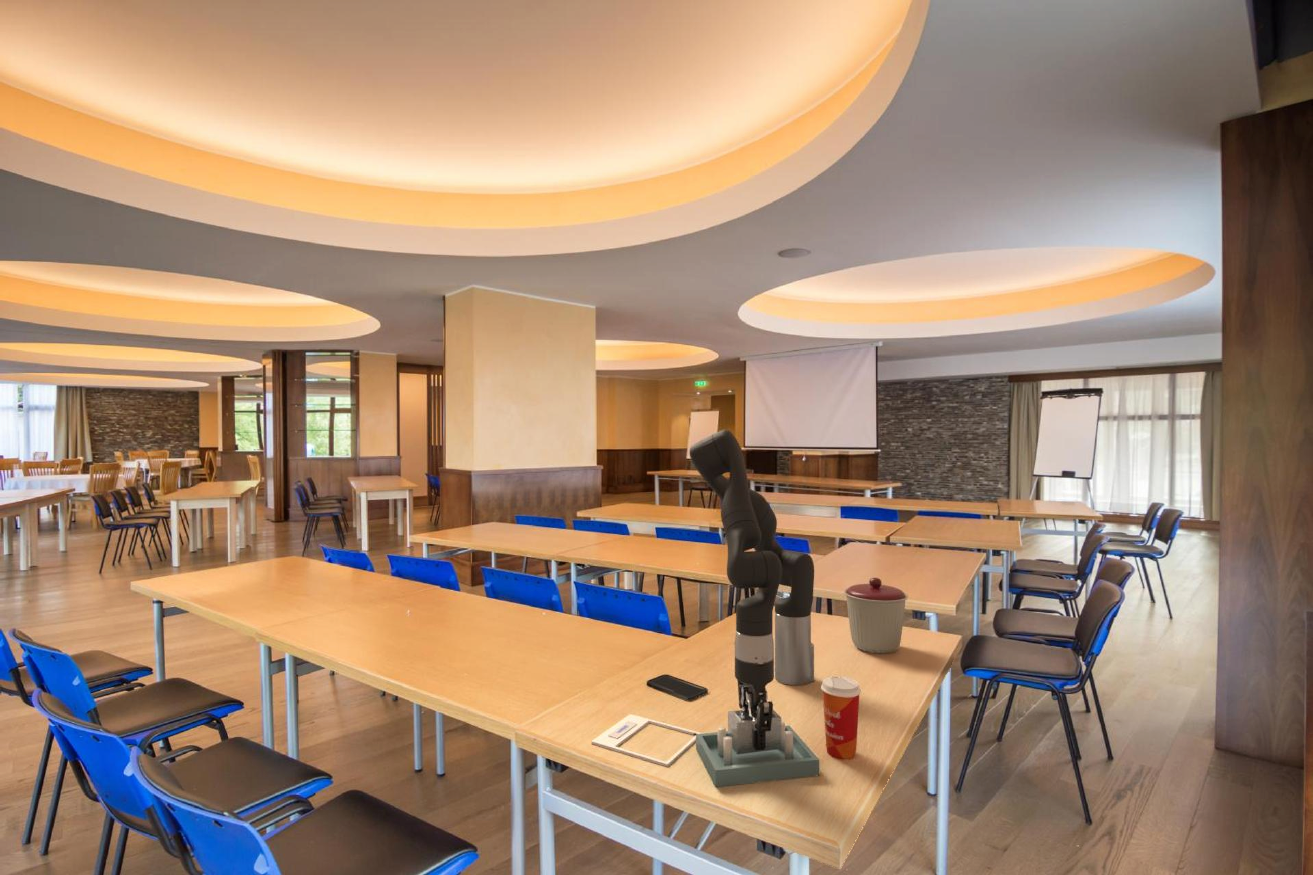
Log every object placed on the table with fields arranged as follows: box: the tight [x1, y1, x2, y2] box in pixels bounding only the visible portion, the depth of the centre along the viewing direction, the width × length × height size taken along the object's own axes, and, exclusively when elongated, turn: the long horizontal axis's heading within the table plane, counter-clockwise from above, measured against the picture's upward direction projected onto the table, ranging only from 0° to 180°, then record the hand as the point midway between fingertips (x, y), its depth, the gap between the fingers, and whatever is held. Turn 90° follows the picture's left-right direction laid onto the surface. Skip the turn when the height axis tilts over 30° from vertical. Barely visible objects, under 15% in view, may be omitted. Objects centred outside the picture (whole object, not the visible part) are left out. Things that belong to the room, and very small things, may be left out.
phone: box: [646, 674, 709, 702], centre depth 156 cm, size 8×1×15 cm
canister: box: [843, 577, 909, 655], centre depth 186 cm, size 18×18×21 cm
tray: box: [695, 721, 820, 788], centre depth 121 cm, size 20×14×6 cm
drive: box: [727, 709, 782, 755], centre depth 121 cm, size 9×5×6 cm, turn 104°
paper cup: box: [820, 676, 862, 761], centre depth 124 cm, size 8×8×14 cm
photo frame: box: [591, 713, 703, 768], centre depth 130 cm, size 15×1×18 cm
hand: (754, 741), depth 121 cm, fingers closed on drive, 5 cm apart
